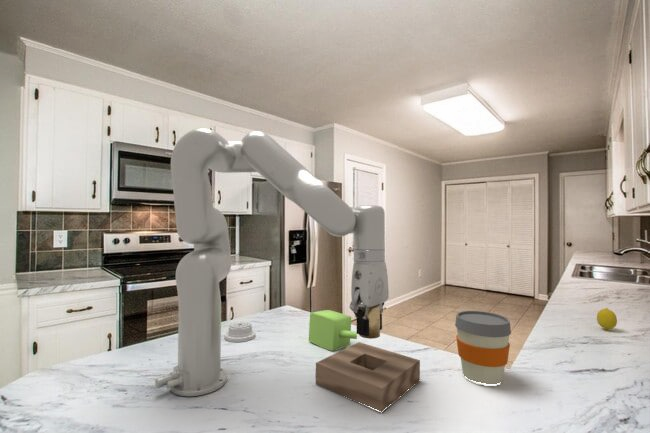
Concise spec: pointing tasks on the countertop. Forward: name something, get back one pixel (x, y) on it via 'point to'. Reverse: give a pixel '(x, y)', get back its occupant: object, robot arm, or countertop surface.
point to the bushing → (373, 322)
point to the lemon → (606, 319)
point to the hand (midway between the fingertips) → (369, 331)
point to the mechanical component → (240, 332)
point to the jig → (368, 374)
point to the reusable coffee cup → (483, 345)
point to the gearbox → (330, 329)
